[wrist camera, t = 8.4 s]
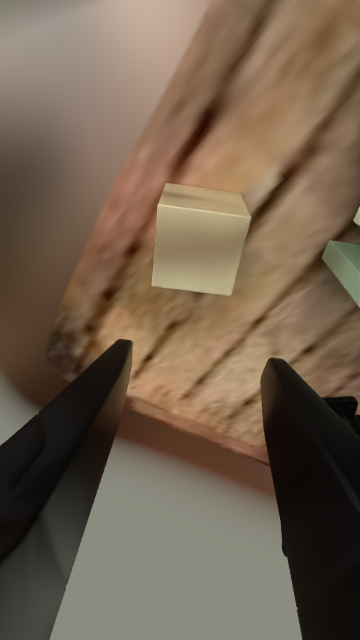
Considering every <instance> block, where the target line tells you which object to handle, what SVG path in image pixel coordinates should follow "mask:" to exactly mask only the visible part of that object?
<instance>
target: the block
mask: <svg viewBox="0 0 360 640" xmlns="http://www.w3.org/2000/svg"><path fill="white" fill-rule="evenodd" d="M250 221H251V216H250V213H249V211H248V209H247V207H246V204H245V202H244V200H243V198H242V195H241V194H240V193H235V192H228V191H221V190H214V189H207V188H200V187H193V186H186V185H178V184H171V183H166V184H165V187H164V190H163V192H162V195H161V198H160V201H159V203H158V209H157V222H156V235H155V249H154V262H153V275H152V286H155V287H162V288H170V289H178V290H186V291H193V292H201V293H209V294H217V295H225V296H231V295H232V291H233V287H234V283H235V279H236V275H237V271H238V268H239V264H240V260H241V256H242V252H243V248H244V244H245V241H246V237H247V233H248V229H249V225H250Z"/></svg>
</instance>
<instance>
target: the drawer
mask: <svg viewBox="0 0 360 640" xmlns="http://www.w3.org/2000/svg"><path fill="white" fill-rule="evenodd" d="M353 221H354V222H355V223H356V224H357V225H359V226H360V207H359V209H358V211H357V213H356V216H355V218H354V220H353ZM322 259H323V261H324V262H325V263H326V265H327V266H328V267H329V268H330V270H331V271H332V272H333V274H334V275H335V276H336V278H337V279H338V280H339V281H340V283H341V284H342V285H343V287H344V288H345V289H346V291H347V292H348V293H349V294H350V296H351V297H352V298H353V300H354V301H355V302H356V304H357V305H358V306H359V308H360V244H354V243H347V242H339V241H332V240H329V242H328V244H327V246H326V249H325V251H324V253H323V256H322Z"/></svg>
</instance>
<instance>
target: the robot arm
mask: <svg viewBox="0 0 360 640" xmlns="http://www.w3.org/2000/svg"><path fill="white" fill-rule="evenodd" d="M132 350H133V342H132V341H131V340H125V339H119V340H117V341H116V342H115V343H114V344H113V345H112V346H111V347H109V348H108V349H107V350H106V351H105V352H104V353H103V354H102V355H101V356H100V357H99V358H97V359H96V360H95V361H94V362H93V363H92V364H91V365H90V366H89V367H88V368H87V369H85V370H84V371H83V372H82V373H81V374H80V375H79V376H78V377H77V378H76V379H74V380H73V381H72V382H71V383H70V384H69V385H68V386H67V387H66V388H65V389H64V390H62V391H61V392H60V393H59V394H58V395H57V396H56V397H55V398H54V399H53V400H52V401H50V402H49V403H48V404H47V405H46V406H45V407H44V408H43V409H42V410H41V411H40V412H39V413H38V415H39V416H38V415H35V416H34V417H33V418H32V419H31V420H30V421H28V422H27V423H26V424H25V425H24V426H23V427H22V428H21V429H19V430H18V431H17V432H16V433H15V434H14V435H13V436H11V437H10V438H9V439H8V440H7V441H6V442H4V443H3V444H2V445H1V446H0V640H49V639H50V636H51V632H52V629H53V626H54V623H55V620H56V617H57V614H58V611H59V607H60V605H61V602H62V599H63V595H64V592H65V589H66V587H65V586H66V585H67V583H68V580H69V577H70V574H71V570H72V567H73V564H74V561H75V558H76V555H77V552H78V549H79V546H80V542H81V540H82V536H83V533H84V530H85V527H86V524H87V521H88V518H89V515H90V512H91V509H92V506H93V503H94V499H95V496H96V493H97V490H98V487H99V484H100V481H101V478H102V475H103V472H104V468H105V466H106V463H107V459H108V456H109V453H110V450H111V447H112V444H113V441H114V438H115V435H116V432H117V429H118V426H119V422H120V419H121V416H122V412H123V408H124V403H125V398H126V393H127V387H128V382H129V377H130V372H131V366H132ZM260 384H261V399H262V414H263V427H264V434H265V440H266V445H267V451H268V456H269V462H270V467H271V472H272V478H273V483H274V488H275V494H276V499H277V504H278V510H279V515H280V520H281V531H282V550H283V553H284V555H285V556H286V557H287V558H288V563H289V568H290V574H291V579H292V585H293V590H294V595H295V601H296V606H297V608H298V609H297V613H298V617H299V623H300V629H301V634H302V640H360V415H355V413H356V410H357V406H358V401H357V400H356V398H355V397H341V398H326V399H322V398H321V397H320V396H319V395H318V394H317V393H316V392H315V391H314V390H313V389H312V388H311V387H310V386H309V385H308V384H307V383H306V382H305V381H304V380H303V379H302V378H301V377H300V376H299V375H298V374H297V373H296V372H295V371H294V370H293V368H292V367H291V366H290V365H289V364H288V363H287V362H286V361H285V360H283V359H280V358H269V359H268V361H267V363H266V366H265V368H264V371H263V373H262V376H261V382H260Z"/></svg>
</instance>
